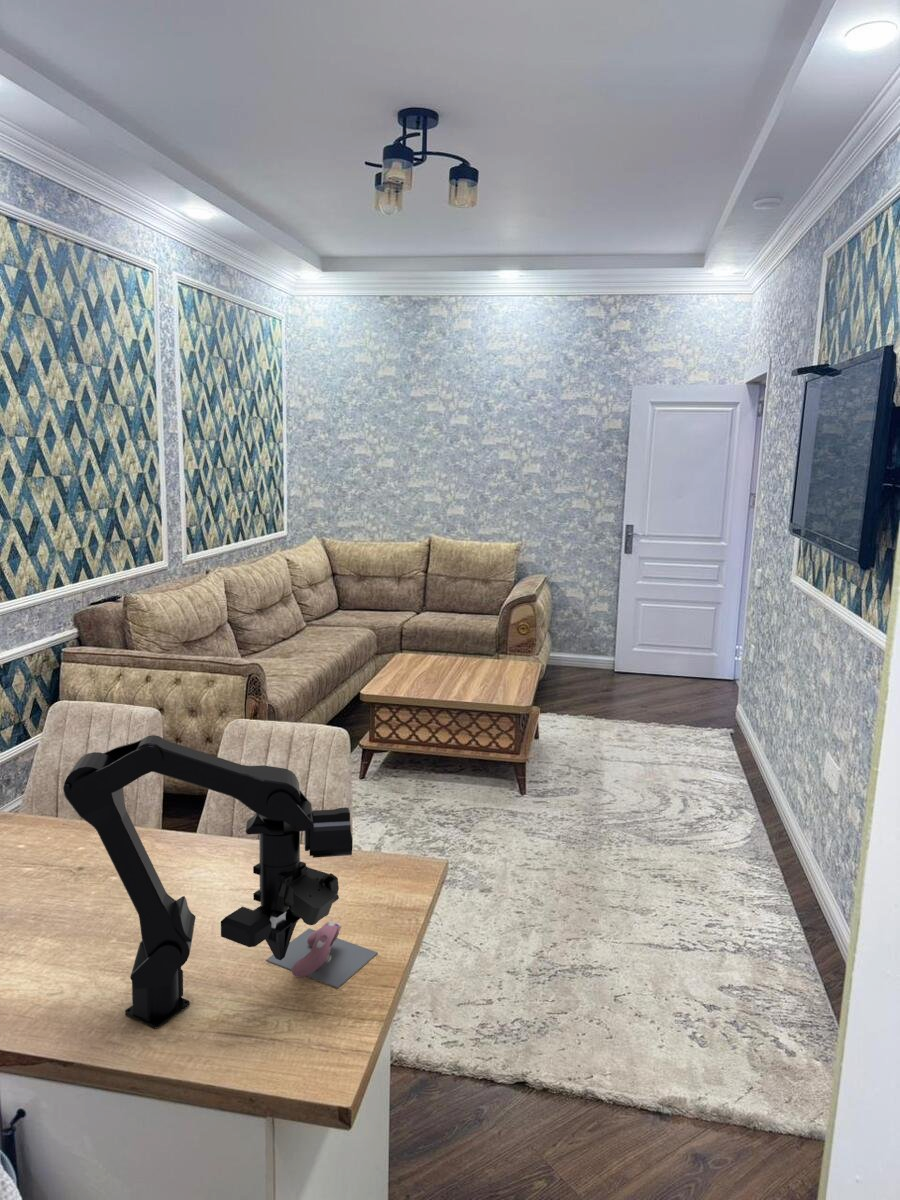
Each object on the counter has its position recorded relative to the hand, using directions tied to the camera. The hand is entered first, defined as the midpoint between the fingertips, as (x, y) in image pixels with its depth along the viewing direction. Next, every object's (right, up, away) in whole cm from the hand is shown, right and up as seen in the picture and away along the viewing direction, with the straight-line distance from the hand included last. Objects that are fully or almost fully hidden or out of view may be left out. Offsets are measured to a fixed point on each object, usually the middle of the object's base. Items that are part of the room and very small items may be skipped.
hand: (279, 958), depth 124 cm
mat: (+4, -5, +12) cm, 14 cm away
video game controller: (+4, -5, +10) cm, 12 cm away
